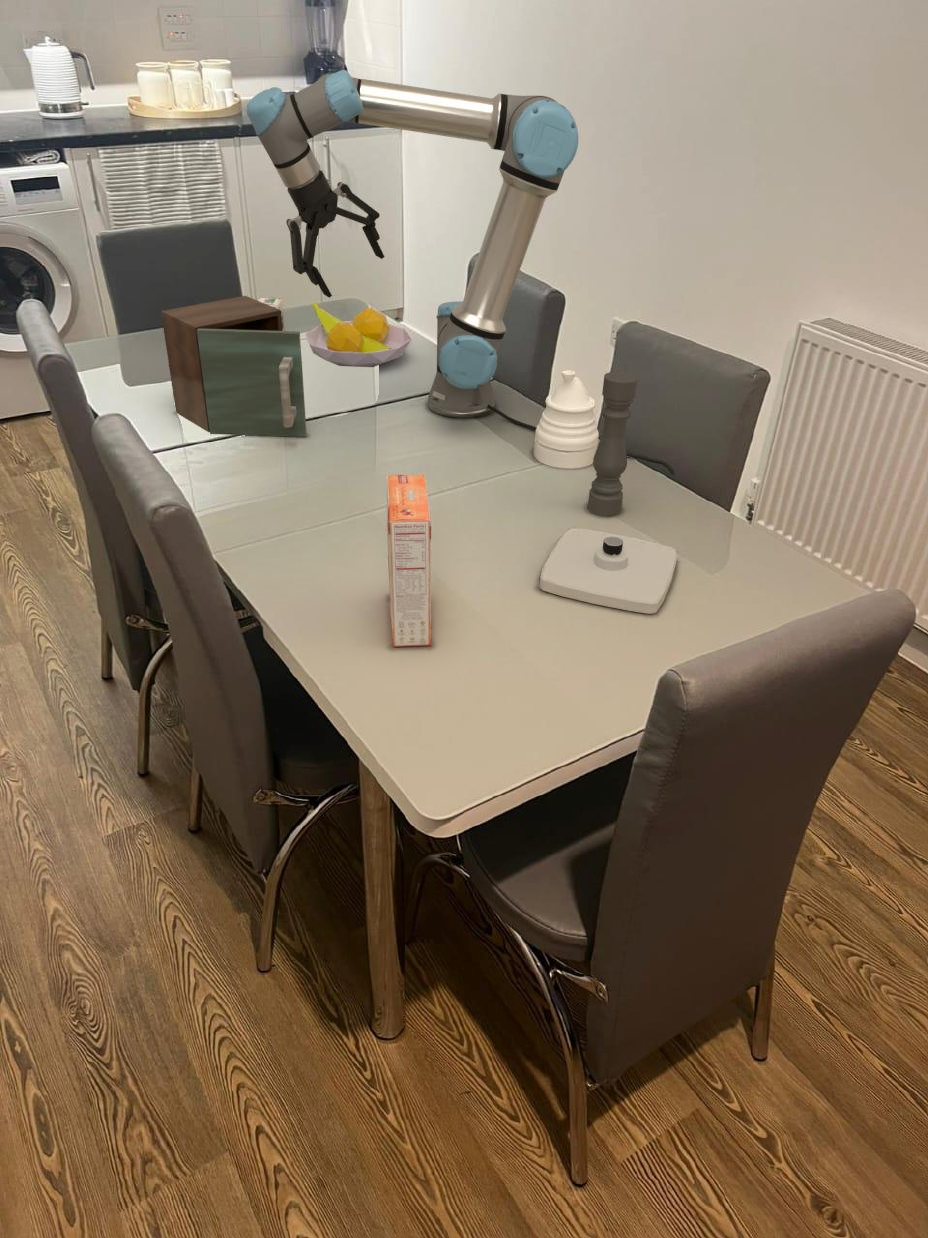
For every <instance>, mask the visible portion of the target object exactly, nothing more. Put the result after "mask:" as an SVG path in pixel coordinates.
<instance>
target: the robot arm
mask: <svg viewBox="0 0 928 1238" xmlns="http://www.w3.org/2000/svg"><path fill="white" fill-rule="evenodd" d="M245 112H246V114H247V116H248V119H249V120H250V123H251V125H252V127H253V129H254V131H255V135H256V136H257V137H258V140H259V141H260V143H261V144H262V146H263V148H264V150H265V152H266V153H267V155H268V157H269V160H271V163H272V164H273V167H274V168H275V170H276V171H277V174H278V175H279V177H280V179H281V181H282V184H283V185H284V187H286V188H287V193H288V195H289V196H290V198H291V200H292V202H293V204H294V205H295V207H296V209H297V212H298V215H297V216H296V217H294V218H287V219H286V222H285V223H286V226H287V228H288V231H289V236H290V237H289V238H290V246H291V259H292V260H291V261H292V269H293V271H294V272H295V273H297V274H299V275H303V274H304V273H305V274H306V276H307V277H308V279H309V281H310V282H311V283H312V284H313V285H314V286H318V287H319V289H320V290H321V292H322V294H323V295H324V296H326V297H327V298H328V299H329V298H331V297H333V294H332V292H331V291H330V289H329V287H328V285H327V283H326V281H325V280H324V278H323V276H322V274H321V273H320V271H319V269H318V267H316V265H315V266H314V261H315V255H316V247H317V242H318V236H319V233H320V229H324V228H326V227H327V225H329V223H330V224H331V223H333V222H334V221H336V217H337V215H338V216H340V217H343V218H345V219H349V220H352V221H354V222H356V223H359V224H361V225H363V226H362V227H361V229H362V231H363V233H364V235H365V237H366V239H367V241H368V243H369V245H370V247H371V249H372V251H373V253H374V255H375V257H377V258H379V259H381V260H383V259H384V258H385V257H386V256H385V254H384V253H383V250H382V248H381V246H380V244H379V242H378V241H379V240H380V239H381V238H380V234H379V232H378V230H377V228H376V225H377V224H376V220H378V219H379V218H380V215H381V214H380V213H379V212H378V211H377V210H376V209H375V208H373V206H370V205H369V204H368V203H366V201H364V200H362V199H361V198H360V197H358V196H357V195H356V194H355V193H353V191H352V190H351V188H350V186H349V185H348V184H346V183H344V182H342V181H339V182H338V183H337V185H336V186H337V187H335V188H334V189H332V188H331V185H330V184H329V181H328V180H327V177H326V176H325V174H324V171H323V170H322V169H321V165H320V164H319V161H318V159H317V158H316V156H315V154H314V151H313V150H312V148H311V145H310V144H309V142H308V140H311V139H313V138H315V137H317V136H318V135H320V134H322V133H324V132H326V131H329V130H331V129H333V128H335V127H338V126H339V125H341V124H343V123H352V124H362V125H369V126H375V127H382V128H388V129H394V130H402V131H408V132H413V133H420V134H421V133H422V134H427V135H435V136H441V137H448V138H453V139H454V138H455V139H461V140H466V141H467V140H468V141H473V142H482V143H486V144H487V145H488V146H489V148H490V149H491V150H495V151H496V150H497V151H502V152H503V155H502V158H501V162H500V164H499V168H498V170H499V173H500V175H501V177H502V183H501V187H500V190H499V193H498V196H497V199H496V202H495V205H494V207H493V211H492V213H491V217H490V218H489V219H490V220H489V222H488V225H487V228H486V231H485V234H484V237H483V239H482V240H483V241H482V242H481V246H480V249H479V251H478V255H477V258H476V261H475V264H474V267H473V270H472V273H471V276H470V279H469V282H468V285H467V288H466V290H465V294H464V296H463V298H462V299H463V300H461V301H448V302H442V303H441V304H439V305H438V307H437V315H436V319H437V320H436V321H437V324H436V325H437V329H436V336H437V337H436V373H435V375H434V379H433V382H432V385H431V387H430V390H429V394H428V397H427V406H428V408H429V410H431V411H432V412H433V413H435V414H437V415H440V416H443V417H448V418H452V419H454V418H455V419H473V418H480V417H484V416H487V415H489V414H491V413H493V412H494V413H496V414H497V415H499V416H500V417H502V418H504V419H505V420H507V421H509V422H510V423H513V424H516V425H518V426H521V427H523V428H527V429H529V430H532V431H536V428H537V426H534V425H532V424H528V423H526V422H522V421H519V420H517V419H515V418H513V417H511V416H509V415H507V414H505V412H502V411H501V410H499V409H498V408H496V396H495V393H494V389H493V385H492V382H491V379H492V378H493V377H494V375H495V373H496V370H497V367H498V362H499V361H498V354H499V351H500V348H501V345H502V342H503V339H504V337H505V334H506V331H507V328H506V326H505V323H504V321H503V318H504V315H505V312H506V309H507V306H508V304H509V301H510V299H511V295H512V292H513V290H514V287H515V285H516V282H517V279H518V276H519V274H520V270H521V268H522V265H523V262H524V259H525V257H526V254H527V251H528V249H529V246H530V243H531V241H532V237H533V235H534V232H535V229H536V227H537V224H538V221H539V218H540V215H541V212H542V210H543V208H544V205H545V202H546V199H548V197H550V196H551V195H554V194H555V193H557V192H558V190H559V187H560V184H561V182H562V179H563V177H564V174H565V171H566V170H567V169H568V168H569V166H570V165H571V164H572V162H573V161H574V158H575V157H576V154H577V151H578V147H579V131H578V126H577V123H576V121H575V117H574V116H573V115H572V113H571V112H570V110H569V109H568V108H567V107H565V105H563V104H562V103H559V102H558V101H556V100H555V99H554V98H551V97H549V96H545V95H515V94H506V93H498V94H496V95H495V96H494V97H492V98H491V97H484V96H478V95H471V94H465V93H459V92H451V91H446V90H438V89H432V88H424V87H420V86H412V85H406V84H399V83H392V82H386V81H379V80H373V79H365V78H357V77H353V76H351V74H350V73H349V71H348V70H345V69H341V70H338V71H337V72H336V71H335V72H327V73H323V74H322V75H321V76H319V77H318V78H317V79H316V80H315V82H313V83H312V84H310V85H308V86H306V87H304V88H302V89H301V90H299V91H297V92H294V93H292V94H289V95H286V93H284V92H283V90H282V89H281V88H279V87H276V86H274V87H270V88H266V89H264V90H262V91H260V92H259V93H257V94H256V95H254V96H253V97H252V98H251V99H249V101H248V103H247V105H246V111H245ZM339 197H341V198H346V200H348V201H349V202H351V203H352V204H354V205H355V206H356V207H358V208H359V209H360V210H361V211H362V212H364V213H365V214H367V216H362V215H360V214H358V213H354V212H353V211H350V210H347V209H344V208H342V207H339V206H338V204H339V203H338V202H339ZM302 223H305V239H304V246H303V243H302V233H301V230H302ZM303 247H304V248H303ZM626 455H627V457H629V458H633V459H634V458H635V459H639V460H643V461H647V462H649V463H654V464H659V465H662V466H664V467H665V468H666V469H667V470H668V471H669V473H670V474H671V475H672V476H676V475H677V473H676V472H675V469H674V468H673V467H672V466H671V465H670V464H669V463H668V462H667V461H665V460H662V459H657V458H652V457H649V456H646V455H642V454H637V453H633V452H627V451H626Z"/></svg>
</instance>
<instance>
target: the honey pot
mask: <svg viewBox="0 0 928 1238" xmlns="http://www.w3.org/2000/svg"><path fill="white" fill-rule="evenodd" d="M561 376H562V380H561V381H560V382H559V384H557V386H556V387H555V389H554V391H553V393H551V394H549V395H548V396H547V397H546V398H545V401H544V402H545V405H546V407H545V408H544V410H543V411H542V413H541V417H540V419H539V423H538V424H537V425H536V427H537V428H536V431H535V430H534V431H535V434H534V435H535V436H534V445H533V456H534V458H535V459H536V460H537V461H538V462H540V463H542V464H543V465H546V466H549V467H552V468H557V469H567V470H568V469H572V470H573V469H581V468H585V467H589V466H590V465H593V458H594V455H595V452H596V450H597V447H598V444H599V436H600V434H599V430H598V428H597V427H598V425H597V422H596V415H595V414H594V413H595V412H594V409H595V408H596V404H597V402H596V400H595V399H594V398H593V397H591V396H590V395H589V393H588V390H587V389H586V387H585V385H584V383H583V382H582V380H581V379H580V378H579V377H577V376H576V372H575V371H574V370H569V369H565V370H563V371H561Z"/></svg>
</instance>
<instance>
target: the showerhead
mask: <svg viewBox="0 0 928 1238" xmlns="http://www.w3.org/2000/svg"><path fill="white" fill-rule="evenodd" d="M677 556H678V551H677V550H676V548H674V547H673V546H669V545H665V544H661V543H657V542H654V541H649V540H645V539H640V538H635V537H631V536H625V535H622V534H616V533H611V532H610V533H609V532H604V531H599V530H594V529H585V528H578V527H572V528H568V530H567V531H565V533H564V534H562V535H561V536H560V538H559V539H558V541H557V542H556V543H555V546H553V548H552V550H551V552H550V553H549V554H548V557H547V558H546V561H545V563H544V565H543V566H542V569H541V573H540V577H539V589H541V591H543V592H547V593H550V594H554V595H557V596H560V597H564V598H569V599H572V600H577V601H580V602H585V603H589V604H594V605H598V606H603V607H609V608H614V609H618V610H623V611H628V612H634V613H635V612H636V613H640V614H641V613H642V614H647V615H648V614H649V615H650V614H656V613H657V612H658V611H659V609H660V608H661V606H662V605H663V603H664V601H665V599H666V596H667V594H668V592H669V589H670V587H671V585H672V581H673V577H674V575H675V574H674V573H675V570H676V567H677V566H676V564H677V559H678V558H677Z"/></svg>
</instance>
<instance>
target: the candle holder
mask: <svg viewBox="0 0 928 1238" xmlns="http://www.w3.org/2000/svg"><path fill="white" fill-rule="evenodd" d="M637 385H638V376H636V374H633V373H631V372H626V371H618V370H617V371H609V372H606V373H605V374H604V375H603V384H602V391H601V392H602V393H601V395H602V396H603V397H602V398H603V399H602V400H603V401H604V405H605V406H603V408H601V416H603V419H604V420H603V427H602V434H601V437H600V439H599V441H598V445H597V450H596V452H595V455H594V458H593V463H592V467H593V469H594V471H595V476H596V477H595V478H594V480H592V481H591V488H590V489H589V490H588V491H589V492H588V500H587V510H588V511H589V512H590V513H591V514H592V515H595V516H599V517H603V518H604V517H605V518H610V517H615V516H618V515H619V514H621V513H622V505H623V498H624V492H623V488H624V487H623V483H622V481H621V480H620V479H621V478H622V475H623V473H625V471H626V470H627V468H628V456H627V455H626V452H627V447H626V446H627V445H626V437H625V434H626V427H627V421H628V420H629V419H630V418H631V417H632V410H631V409H630V406H631V404H632V403H634V399H635V398H636V392H637Z"/></svg>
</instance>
